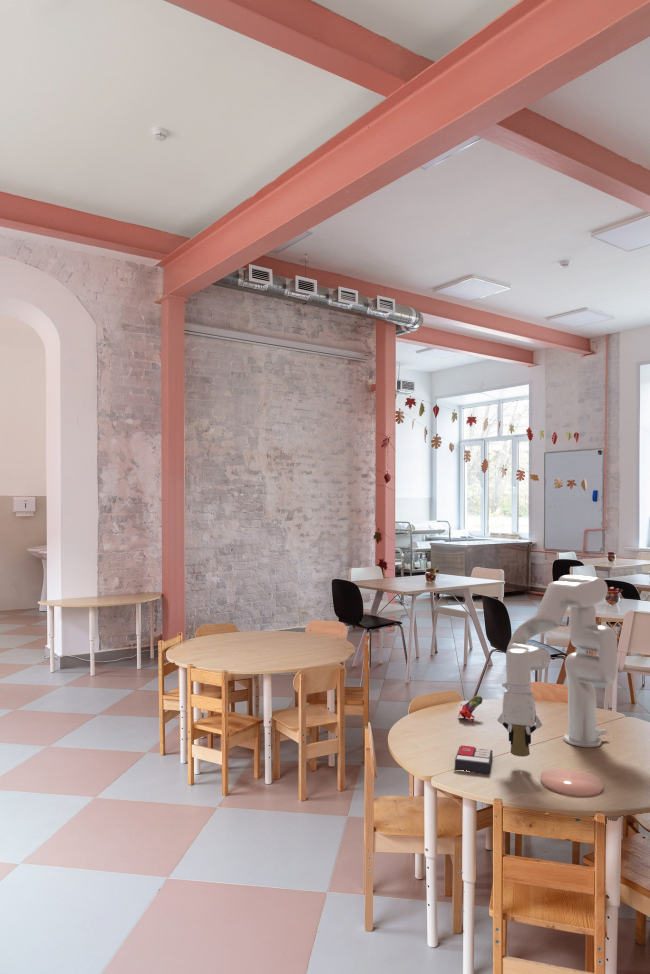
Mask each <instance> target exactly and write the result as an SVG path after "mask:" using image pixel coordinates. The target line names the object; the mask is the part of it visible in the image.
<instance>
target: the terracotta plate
mask: <svg viewBox="0 0 650 974" xmlns="http://www.w3.org/2000/svg"><path fill="white" fill-rule="evenodd" d="M539 782H540V783H541V784H542V785H543V787H545V788H546V789H548V790H550V791H552V792H555V793H559V794H562V795H566V796H571V797H591V796H597V795H599V794H601V793H602V792H603V790H604V784H603V781H602V780H601V779H600V778H598V777H597V776H595V775H593V774H590V773H588V772H585V771H583V770H578V769H577V770H576V769H569V768H551V769H548V770H545V771H543V772H541V774H540V776H539Z"/></svg>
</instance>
